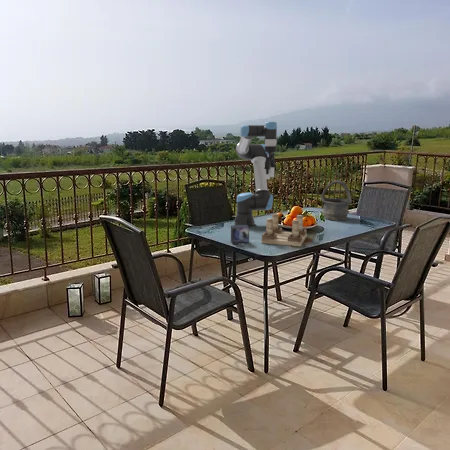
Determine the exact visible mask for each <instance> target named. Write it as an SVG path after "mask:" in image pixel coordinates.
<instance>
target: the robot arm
mask: <svg viewBox="0 0 450 450" xmlns="http://www.w3.org/2000/svg"><path fill="white" fill-rule="evenodd" d="M277 130H278V124H277V122H276V121H265V124H264V125H263V124H262V125H261V124H260V125H259V124H254V125H253V124H245V125H241V126H240V130H239V131H240V133H239V134H240V140H239V142H238V143H237V145H236V147H235V152H236V154H237V156H239V158H241V159H242V160H248V161H250V162H251V163H252V164H253V172H254V182H255V184H254V185H255V192H254V194H253V192H243V193H239V194H237V196H236V215H235V218H234V223H233V224H235V225H248V226H249V227H252V226H254V225H256V221H255V217H254V215H253V211H270V210H271V209H272V208H273V204H274V203H273V201H274V195H273V194H272V193H271V191H270V190H269V189H268V180H270V179H271V178H275V168H276V161H275V160H276V159H275V153H276V152H277V143H278V140H277ZM253 137H256V138H259V137H261V138H262V137H264V143H263V144H262V143H255V144H254V143H253V144H251V142H252V140H253Z"/></svg>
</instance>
